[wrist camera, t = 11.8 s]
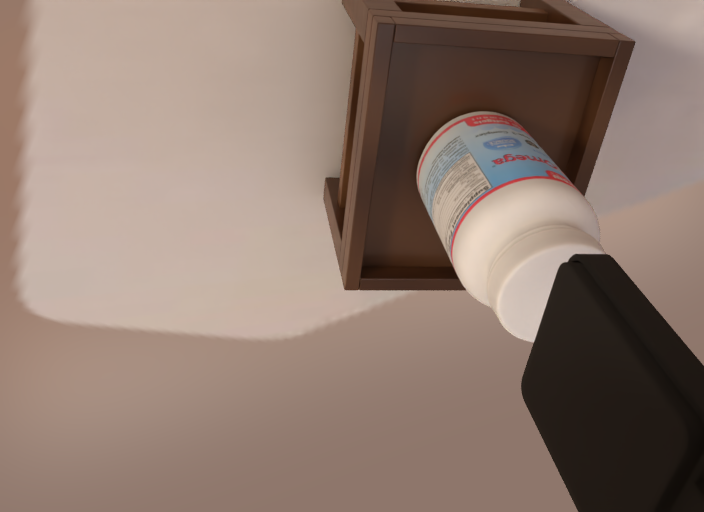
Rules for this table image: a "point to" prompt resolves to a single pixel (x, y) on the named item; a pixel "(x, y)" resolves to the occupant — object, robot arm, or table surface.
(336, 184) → the rack
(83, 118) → the table surface
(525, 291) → the pill bottle
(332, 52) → the table surface
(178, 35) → the table surface
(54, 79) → the table surface
